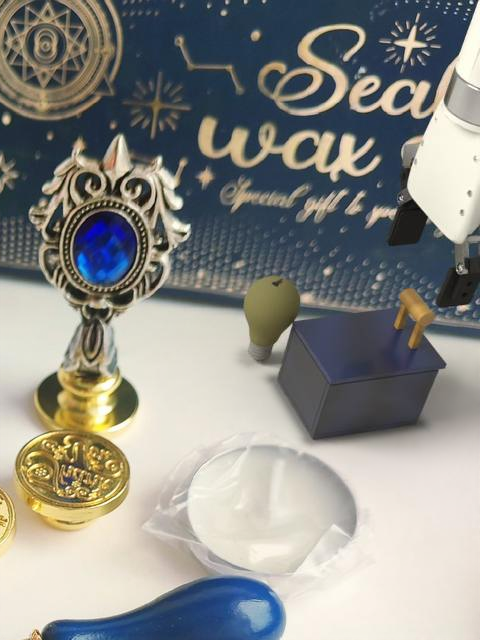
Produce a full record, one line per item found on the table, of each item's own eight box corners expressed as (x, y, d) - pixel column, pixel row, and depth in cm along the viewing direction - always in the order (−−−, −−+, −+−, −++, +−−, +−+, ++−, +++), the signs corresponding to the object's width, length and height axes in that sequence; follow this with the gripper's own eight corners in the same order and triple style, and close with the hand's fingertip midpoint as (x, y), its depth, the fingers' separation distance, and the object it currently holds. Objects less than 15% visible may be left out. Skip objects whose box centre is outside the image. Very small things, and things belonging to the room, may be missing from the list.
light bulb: (277, 381, 113) (298, 303, 105) (225, 366, 114) (243, 288, 107) (290, 350, 116) (312, 273, 109) (239, 336, 118) (258, 259, 110)
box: (375, 366, 114) (395, 312, 109) (416, 424, 108) (439, 370, 103) (276, 380, 113) (291, 326, 108) (312, 439, 107) (330, 385, 102)
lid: (400, 311, 109) (415, 269, 106) (445, 368, 103) (462, 327, 100) (291, 325, 108) (302, 284, 104) (330, 385, 102) (343, 343, 98)
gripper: (598, 146, 82) (512, 325, 95) (482, 45, 94) (419, 217, 106) (509, 156, 81) (433, 335, 94) (402, 52, 92) (348, 225, 105)
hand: (426, 272), depth 100 cm, fingers open, 9 cm apart
